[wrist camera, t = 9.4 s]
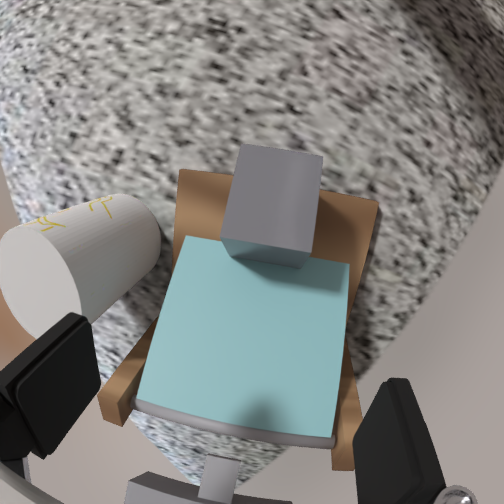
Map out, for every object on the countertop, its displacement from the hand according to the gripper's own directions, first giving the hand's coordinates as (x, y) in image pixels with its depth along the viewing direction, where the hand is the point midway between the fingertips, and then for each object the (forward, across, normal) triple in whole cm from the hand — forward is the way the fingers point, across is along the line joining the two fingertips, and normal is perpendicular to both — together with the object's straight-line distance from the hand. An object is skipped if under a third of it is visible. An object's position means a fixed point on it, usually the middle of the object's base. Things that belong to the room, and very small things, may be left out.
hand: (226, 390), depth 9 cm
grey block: (+11, 0, -1) cm, 11 cm away
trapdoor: (+8, 0, +9) cm, 12 cm away
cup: (+18, +13, +2) cm, 22 cm away
